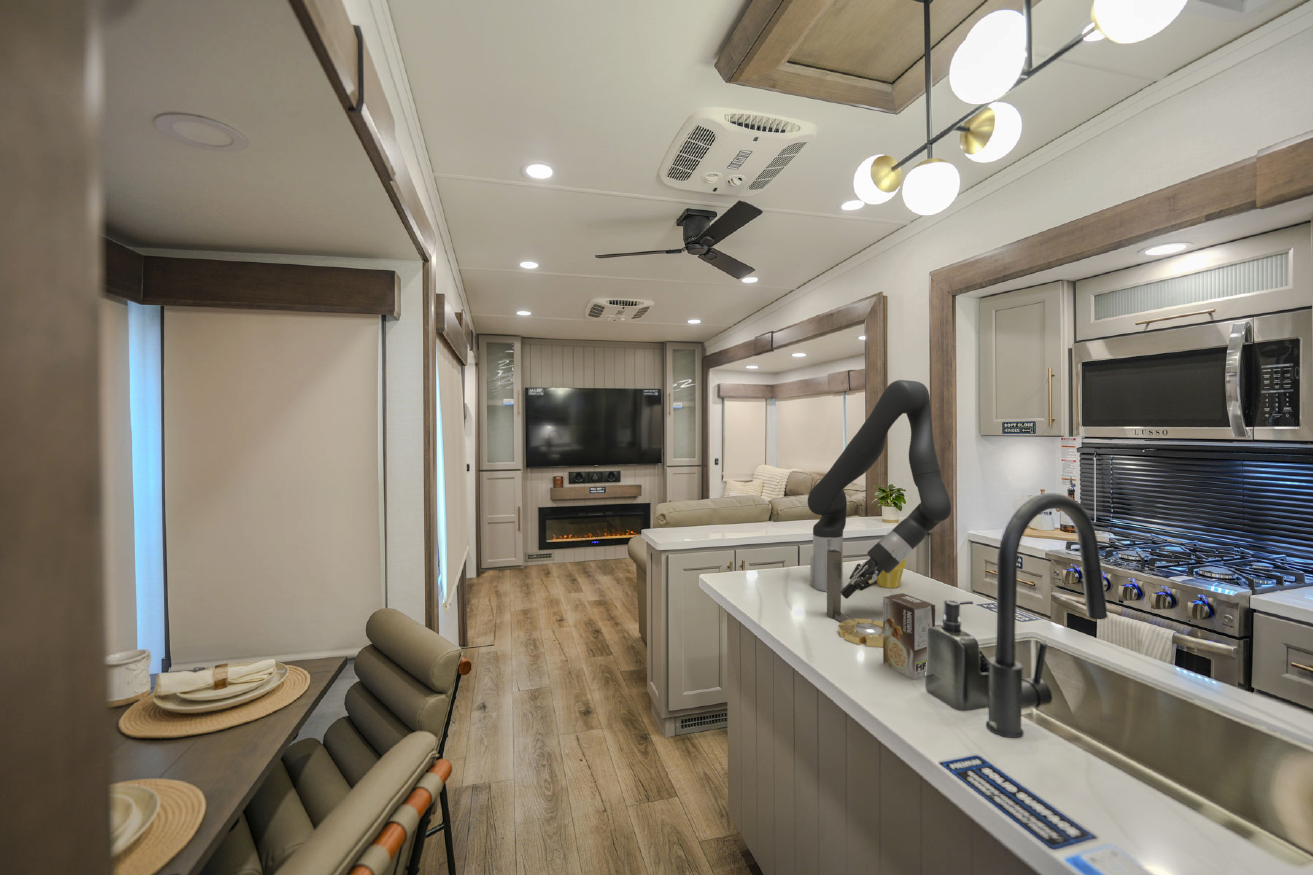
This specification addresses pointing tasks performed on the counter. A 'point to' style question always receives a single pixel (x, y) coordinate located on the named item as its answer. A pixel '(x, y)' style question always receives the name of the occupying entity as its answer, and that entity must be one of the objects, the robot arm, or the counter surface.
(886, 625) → the coffee box
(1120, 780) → the counter surface
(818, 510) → the robot arm
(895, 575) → the plant pot
